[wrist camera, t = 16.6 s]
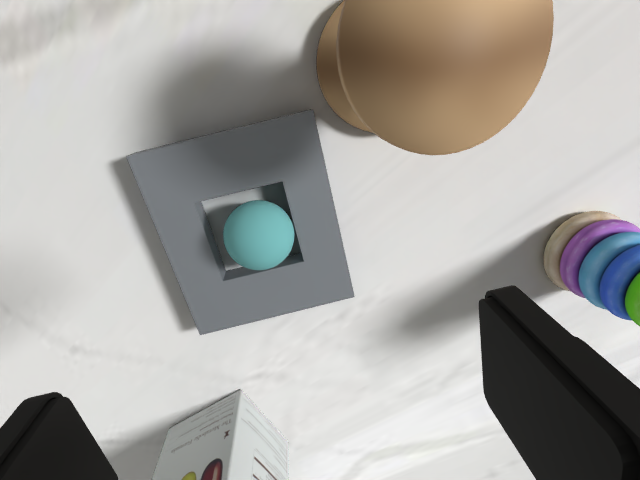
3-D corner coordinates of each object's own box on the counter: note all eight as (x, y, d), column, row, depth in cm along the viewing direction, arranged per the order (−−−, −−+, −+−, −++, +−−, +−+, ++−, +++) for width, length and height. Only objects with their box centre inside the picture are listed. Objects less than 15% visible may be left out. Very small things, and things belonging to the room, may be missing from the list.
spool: (302, 4, 27) (317, -60, 16) (438, -29, 27) (553, -117, 16) (331, 144, 31) (361, 175, 19) (452, 115, 31) (553, 128, 19)
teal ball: (210, 205, 31) (217, 223, 26) (274, 185, 32) (293, 199, 27) (231, 265, 33) (241, 291, 28) (291, 244, 34) (310, 266, 30)
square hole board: (135, 152, 30) (126, 156, 28) (311, 109, 30) (313, 110, 28) (204, 322, 36) (200, 335, 34) (350, 286, 36) (354, 296, 34)
